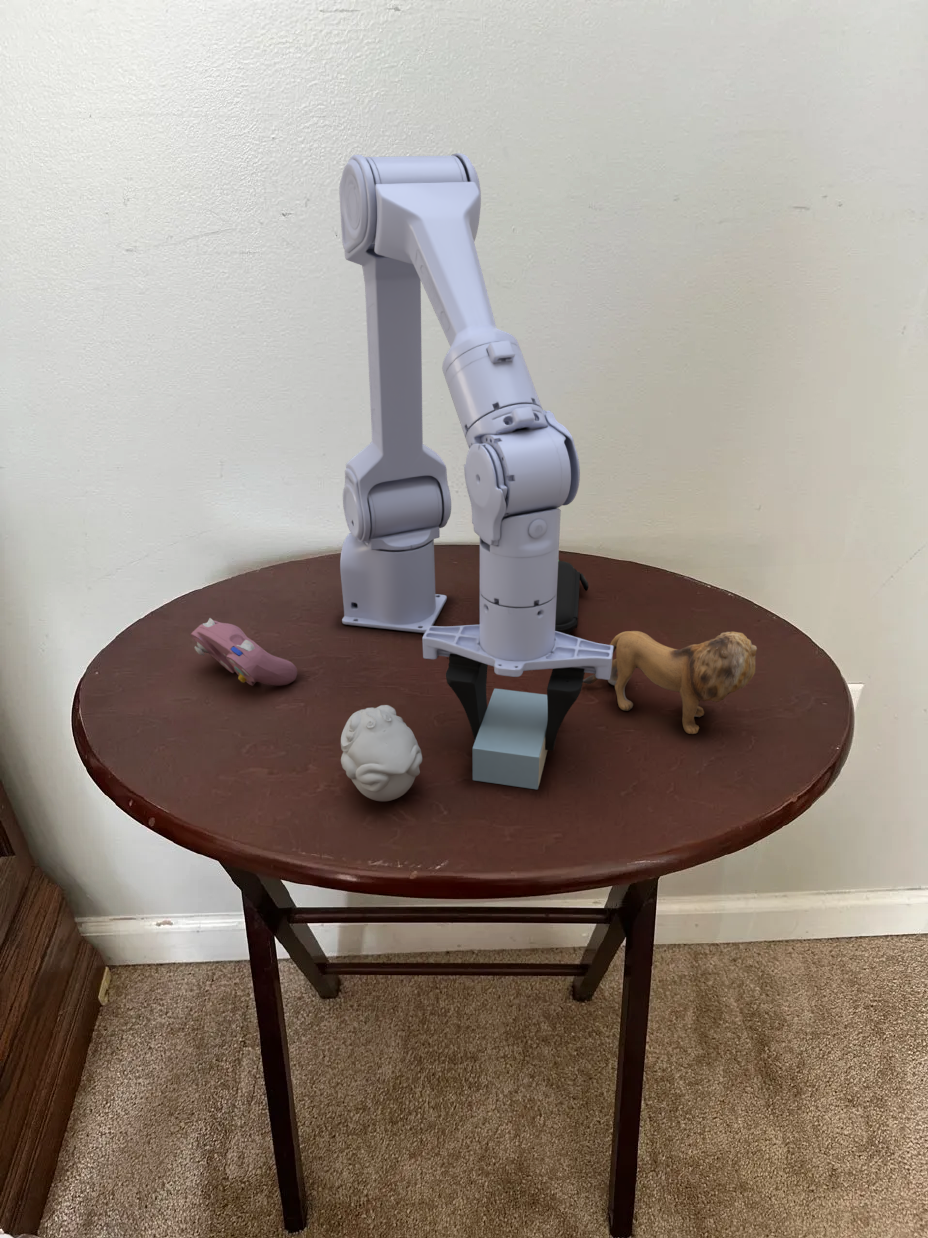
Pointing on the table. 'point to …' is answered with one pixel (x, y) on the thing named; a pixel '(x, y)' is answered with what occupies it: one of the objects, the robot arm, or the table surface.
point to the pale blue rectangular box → (512, 740)
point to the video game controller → (242, 654)
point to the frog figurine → (380, 753)
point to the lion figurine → (684, 669)
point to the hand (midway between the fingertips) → (514, 738)
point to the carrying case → (568, 597)
